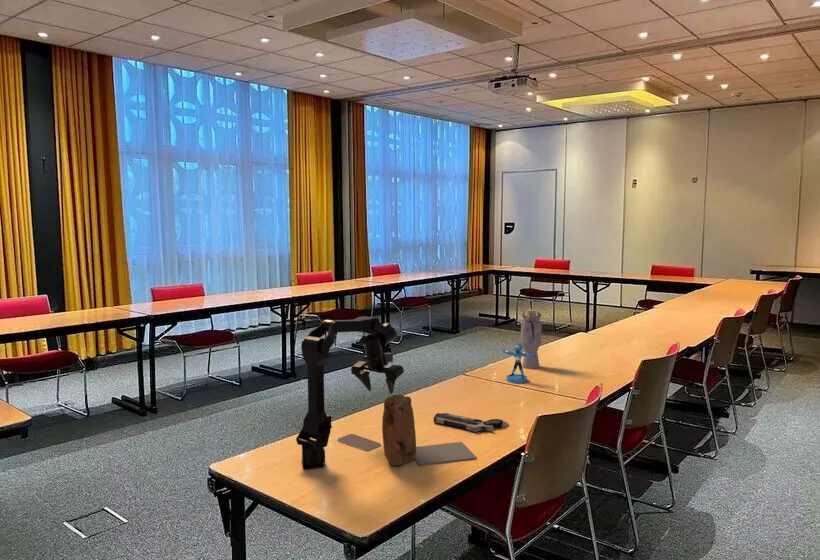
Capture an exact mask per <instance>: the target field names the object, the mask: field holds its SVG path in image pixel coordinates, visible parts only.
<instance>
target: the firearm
mask: <svg viewBox="0 0 820 560" xmlns="http://www.w3.org/2000/svg"><path fill="white" fill-rule="evenodd" d="M433 422H434V423H436V424H442V425H449V426H453V427H456V428H461V429H465V430H467V431H468V430H469V431H471V432H475V433H476V432H478V431H479V432H481V431H487V432H491V433H493V432H494V430H497V428H498V429H502V428H505V427H507V425H509V422H507V421H504V420H503V419H499V418H496V419H495V418H492V419H489V420H483V419H479V418H472V417H466V416H462V415H455V414H452V413H451V414H450V413H448V412H443V413H442V412H441V413H440V412H438V413H436V414H435V415H434V416H433Z"/></svg>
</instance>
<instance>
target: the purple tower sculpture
mask: <svg viewBox="0 0 820 560" xmlns="http://www.w3.org/2000/svg"><path fill="white" fill-rule="evenodd" d="M525 314H526V315H525ZM521 316H522V318H523V320H521V321H520V342H521V343H520V344H521V345H523V347H522V348H523V349H524V353H526V354H531V355H533V354H534V355H536V356H535V357H523V360H522V363H521V364H522V367H523V368H522V369H525V370H535V369H539V368H540V360H539V354H538V350H539V348H540V346H541V343H542V331H543V330H542V328H543V327H542V325H543V324H542V321H540V320H541V317H542V314H541V312H540V311H537V312H536V309H527V311H526V313H525V311H523V312H522V314H521ZM534 368H535V369H534Z"/></svg>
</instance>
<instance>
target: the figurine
mask: <svg viewBox="0 0 820 560" xmlns="http://www.w3.org/2000/svg"><path fill="white" fill-rule="evenodd" d="M523 348H524V347H523V345H522V343H518V342H516V343H515V344H514V350H515V351H510V350H505V349H502V350H501V353H502V354H506V355H511V356H513V357H514V359H515V360H514V364H513V368H512V372H511V374H508V375H506V378H505V379H506V380H505V381H506V382H508V383H511V384H524V383H527V382H528V376H527V375H525V374H524V368H522V364H523V363H522V357H523V358H524V357H535V356H536V355H534V354H533V355H531V354H526V353H525V352H522V351H523ZM517 368H518V369H519V372H520V374H519V373H516V370H517Z"/></svg>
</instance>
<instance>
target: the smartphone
mask: <svg viewBox="0 0 820 560" xmlns="http://www.w3.org/2000/svg"><path fill="white" fill-rule="evenodd" d="M338 442H339V443H341V444H343V445H347V446H350V447H352V448H356V449H359V450H361V451H364V452H369V450H370V451H372V450H374V449H376V448H379V447H381V446H382V443H380V442H378V441H376V440H375V441H374V440H372V439H369V438H367V437H363V436H361V435H357V434H354V433H349V434H347V435H344V436H341V437H338V438H337V443H338ZM371 449H372V450H371Z"/></svg>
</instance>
